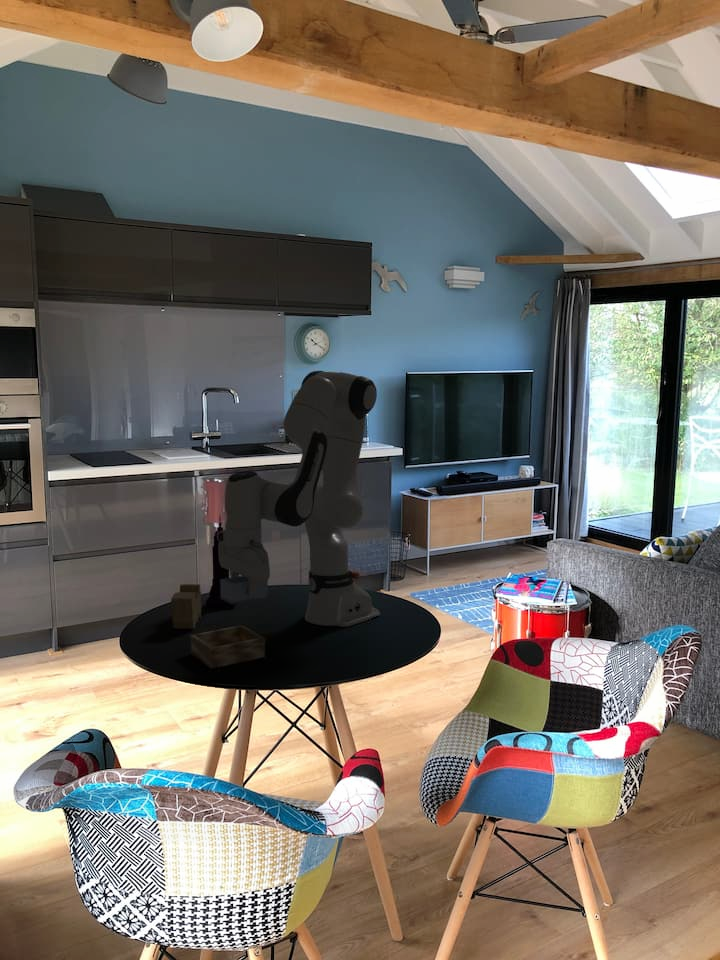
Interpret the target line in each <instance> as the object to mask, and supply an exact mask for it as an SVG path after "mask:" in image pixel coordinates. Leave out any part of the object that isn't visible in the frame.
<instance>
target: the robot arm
mask: <svg viewBox="0 0 720 960" xmlns="http://www.w3.org/2000/svg"><path fill="white" fill-rule="evenodd" d="M377 393H378V392H377V387H376V385H375V383H374V381H373V380H372V379H370V378H368V377H366V376H363V375H355V374H351V373H347V372H341V371H340V372H336V371H323V370H313V371H311V372H308V374H307V375H306V376H305V377H303V379H302V382H301V386H300V388H299V390H298V391H297V393H296V394H295V395H294V398H293V400H292V401H291V404H290V405H289V407H288V409H287V411H286V414H285V416H284V420H283V425H282V426H283V430H284V434H285V436H286V437H287V438H288V439H289V440H290V442H291V443H292V444H294V445H295V446H297V447H298V448H299V449H301V451H302V452H301V458H300V460H299V464H298V467H297V471H296V475H295V477H294V480H293V481H292V482H291V483H289V484H284V483H278V482H272V481H269V480H266V479H264V478H263V477H261V476H260V475H259V473H257V472H256V471H253V470H252V471H251V470H244V471H238V472H236V473H232V474H231V475H230V476H229V477H228V478H227V481H226V485H225V489H224V490H225V491H224V493H225V494H224V511H225V513H226V519H225V520H226V521H225V524H224V525H225V529H223V531H220V532H217V540H218V541H219V544H218V554H219V563H220V565H221V567H223V568H225V569H227V570H229V577H230V578H232V577H238V576H244V577H246V578H248V582H249V588H247V594H248V595H250V596H254V595H256V587H257V585H258V583H259V582H263V581H267V580H268V581H269V579H270V577H271V573H270V570H271V569H270V560H269V559H270V558H269V554H268V552H267V550H266V549H265V548H264V547H265V546H264V545H263V544H262V520H267V521H271V522H276V523H281V524H283V525H287V526H290V527H299V526H301V525H303V524H304V526H305V529H306V535H307V539H308V543H309V544H308V546H309V571H308V590H309V593H308V594H309V596H308V602H307V608H306V612H305V616H304V620H305V621H306V622H307V623H310V624H313V625H316V626H317V625H319V626H331V627H332V626H334V627H342V628H345V627H350V626H354V625H357V624H360V623H363V622H367V621H369V620H372V619H371V618H373V617H376V616H379V615H380V616H381V613H380V610H379V609H377V608H375V607H373V601H372V597H371V595H370V594H369V593H368V592H367V591H366V590H364V589H363V588H362V587H360V586H359V585H358V584H356V583H355V582H354V580H359V579H360V577H361V573H359V572H357V571H351V570H349V546H348V542H347V540H346V539H345V537H344V535H343V531H342V529H348V528H353V527H354V526H356V525H357V524H359V522H360V521H361V519H362V517H363V512H364V508H363V503H362V501H361V499H360V497H359V492H358V482H357V481H358V480H357V479H358V478H357V477H358V474H357V473H358V465H359V461H360V457H361V450H362V446H363V441H364V436H365V427H366V416H367V415H368V414H369V413H370V412H371V411H372V409H374V406H375V404H376V401H377V395H378V394H377ZM321 473H322V483H321V484H320V483H319V480H320V478H321V477H320V476H321ZM380 616H379V617H380ZM376 618H377V617H376ZM368 619H369V620H368ZM373 619H374V618H373Z"/></svg>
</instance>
